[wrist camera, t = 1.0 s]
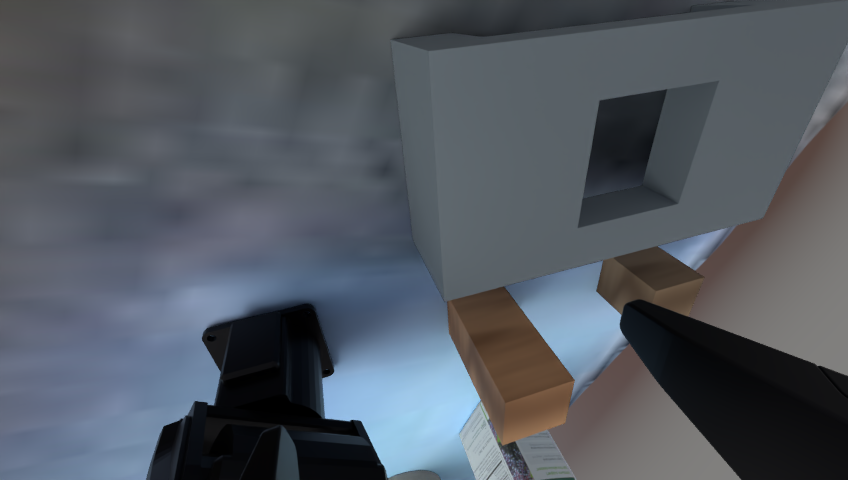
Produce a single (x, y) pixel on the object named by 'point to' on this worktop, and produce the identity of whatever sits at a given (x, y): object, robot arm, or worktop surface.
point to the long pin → (509, 364)
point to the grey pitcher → (416, 476)
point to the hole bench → (575, 123)
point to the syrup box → (511, 453)
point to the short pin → (649, 280)
